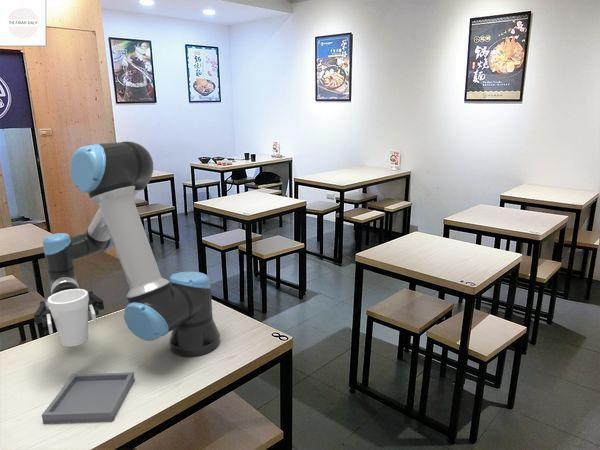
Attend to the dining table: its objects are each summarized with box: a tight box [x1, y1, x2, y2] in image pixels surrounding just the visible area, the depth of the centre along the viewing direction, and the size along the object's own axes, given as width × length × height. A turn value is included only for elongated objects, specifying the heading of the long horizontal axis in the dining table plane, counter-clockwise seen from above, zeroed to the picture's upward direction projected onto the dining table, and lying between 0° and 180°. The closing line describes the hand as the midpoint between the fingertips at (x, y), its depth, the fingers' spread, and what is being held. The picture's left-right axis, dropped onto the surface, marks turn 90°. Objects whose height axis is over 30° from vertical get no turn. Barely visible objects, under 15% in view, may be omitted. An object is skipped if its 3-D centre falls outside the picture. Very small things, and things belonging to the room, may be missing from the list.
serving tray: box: [41, 371, 136, 425], centre depth 110 cm, size 16×16×2 cm
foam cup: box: [46, 288, 89, 347], centre depth 116 cm, size 10×9×13 cm
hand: (72, 323), depth 112 cm, fingers closed on foam cup, 9 cm apart
